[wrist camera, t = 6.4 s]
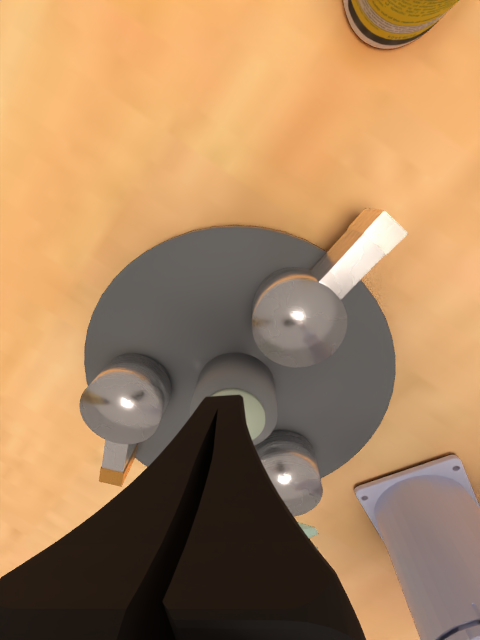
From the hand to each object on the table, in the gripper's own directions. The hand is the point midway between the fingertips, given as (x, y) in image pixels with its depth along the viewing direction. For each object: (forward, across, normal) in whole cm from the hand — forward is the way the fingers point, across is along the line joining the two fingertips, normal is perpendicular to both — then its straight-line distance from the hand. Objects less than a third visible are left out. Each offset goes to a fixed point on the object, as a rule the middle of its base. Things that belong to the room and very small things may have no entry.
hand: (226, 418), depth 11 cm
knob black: (+8, 0, +11) cm, 14 cm away
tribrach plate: (+9, +1, +4) cm, 10 cm away
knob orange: (+8, +8, +5) cm, 12 cm away
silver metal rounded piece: (+8, -5, -2) cm, 10 cm away
